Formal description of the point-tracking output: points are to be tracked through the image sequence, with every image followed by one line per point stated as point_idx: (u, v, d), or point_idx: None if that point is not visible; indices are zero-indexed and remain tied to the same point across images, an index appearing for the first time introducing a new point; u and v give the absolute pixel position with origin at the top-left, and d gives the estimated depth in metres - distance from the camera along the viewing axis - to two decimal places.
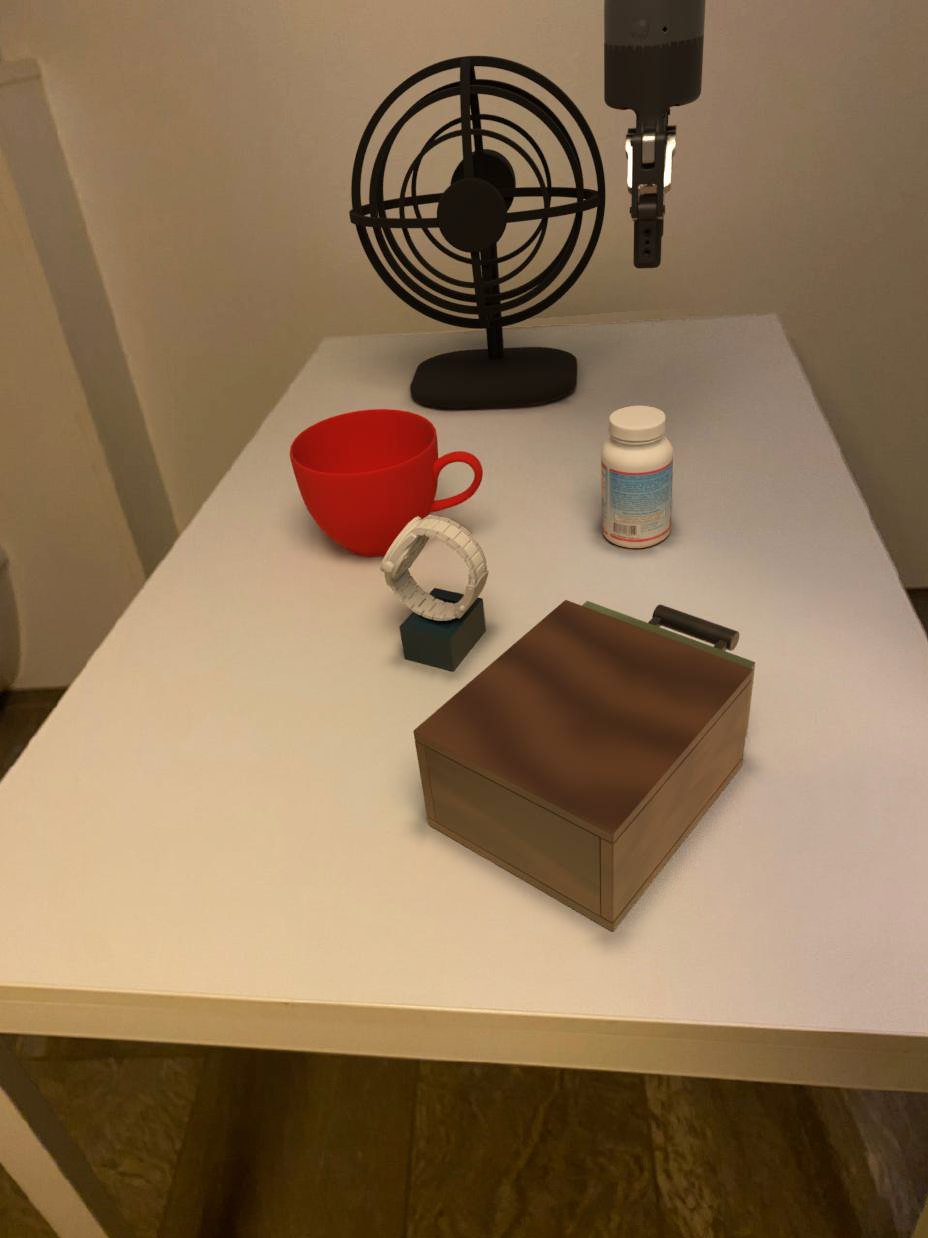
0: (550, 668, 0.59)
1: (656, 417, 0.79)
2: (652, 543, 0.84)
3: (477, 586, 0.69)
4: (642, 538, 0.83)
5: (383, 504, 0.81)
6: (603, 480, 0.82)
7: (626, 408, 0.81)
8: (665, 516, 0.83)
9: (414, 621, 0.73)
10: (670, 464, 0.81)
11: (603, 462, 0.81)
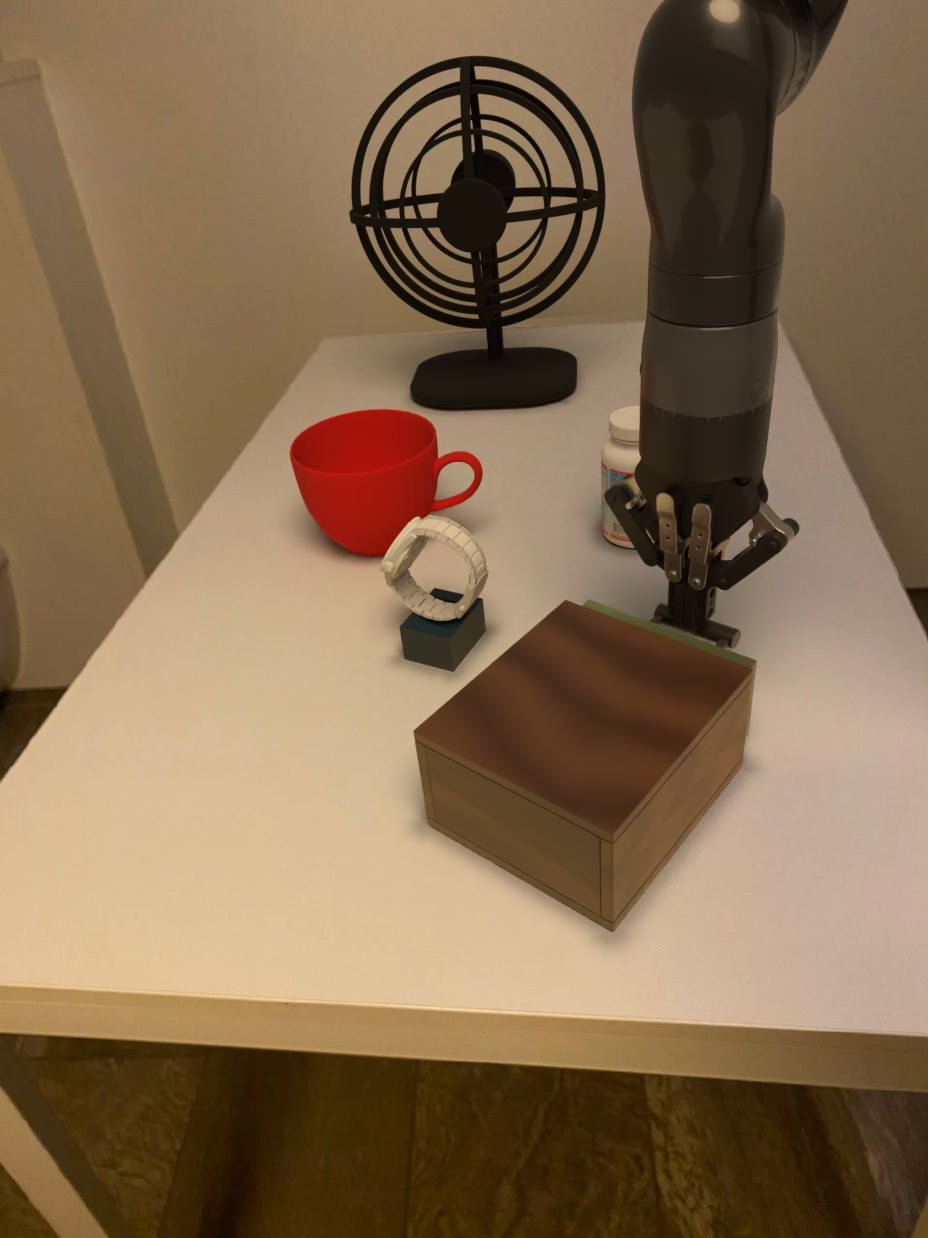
0: (550, 668, 0.59)
1: None
2: None
3: (477, 586, 0.69)
4: None
5: (383, 504, 0.81)
6: (603, 480, 0.82)
7: (626, 408, 0.81)
8: None
9: (414, 621, 0.73)
10: None
11: (603, 462, 0.81)
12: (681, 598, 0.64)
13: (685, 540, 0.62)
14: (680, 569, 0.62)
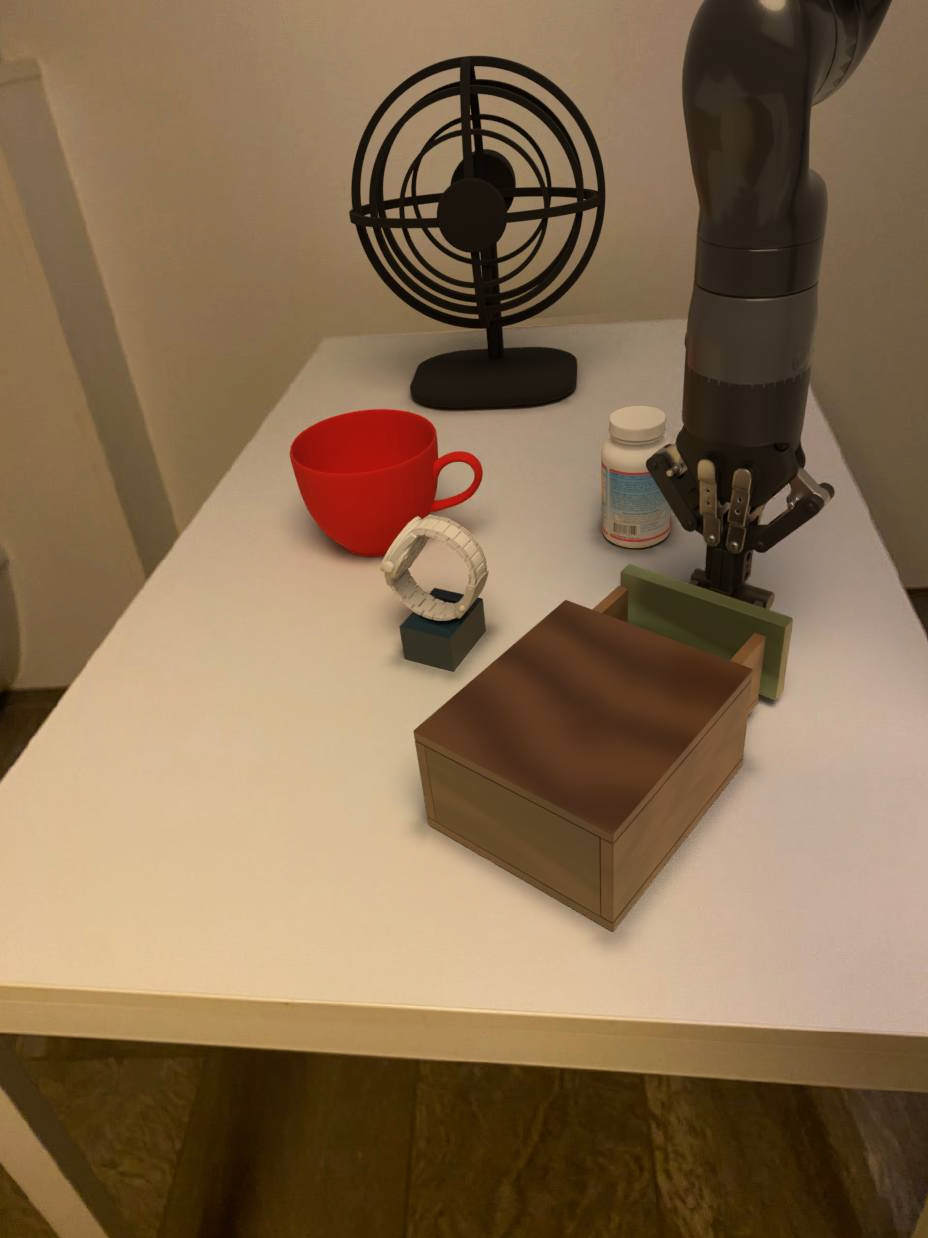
0: (550, 668, 0.59)
1: (656, 417, 0.79)
2: (652, 543, 0.84)
3: (477, 586, 0.69)
4: (642, 538, 0.83)
5: (383, 504, 0.81)
6: (603, 480, 0.82)
7: (626, 408, 0.81)
8: (665, 516, 0.83)
9: (414, 621, 0.73)
10: None
11: (603, 462, 0.81)
12: (719, 562, 0.67)
13: (724, 505, 0.65)
14: (719, 533, 0.65)
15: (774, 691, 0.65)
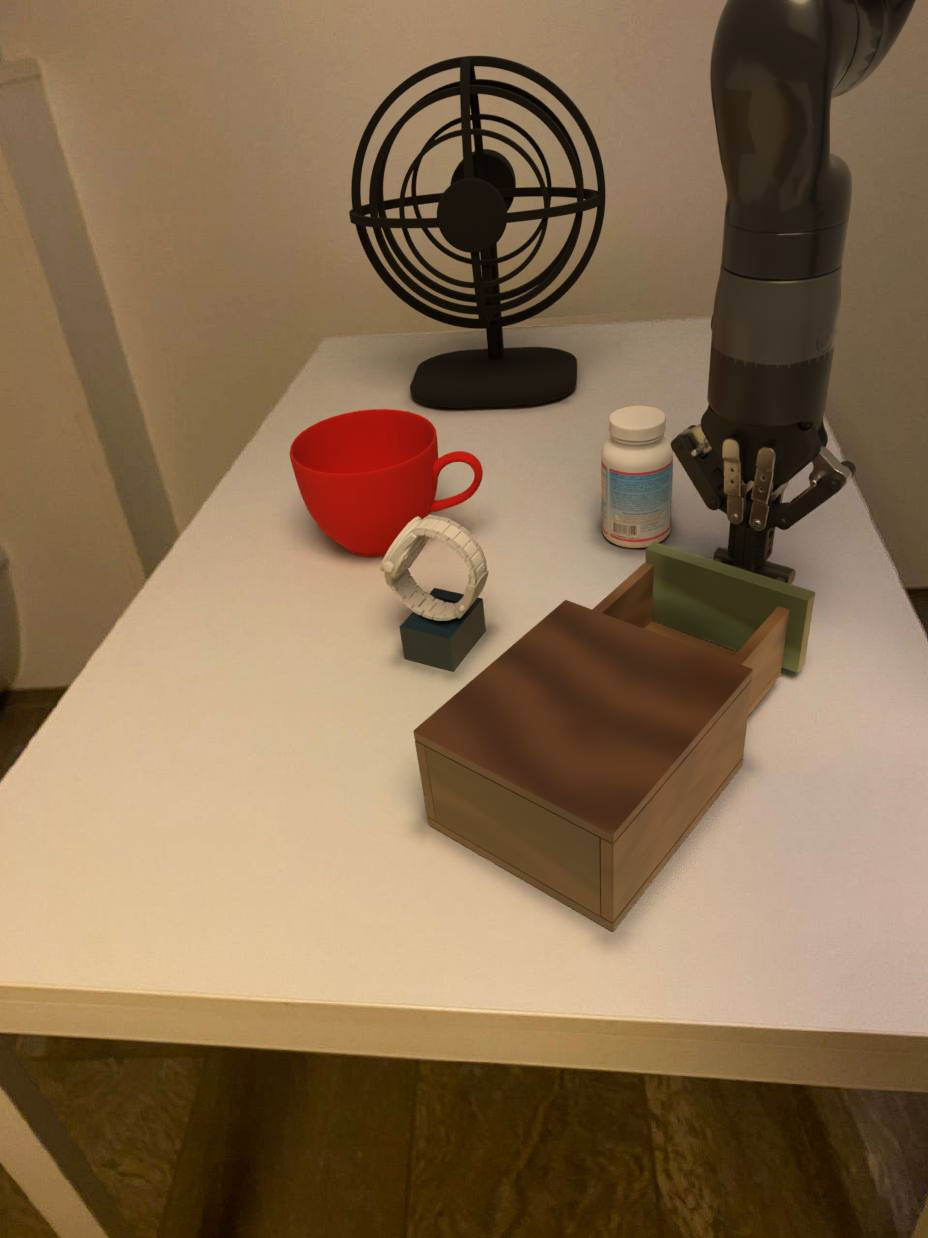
0: (550, 668, 0.59)
1: (656, 417, 0.79)
2: None
3: (477, 586, 0.69)
4: (642, 538, 0.83)
5: (383, 504, 0.81)
6: (603, 480, 0.82)
7: (626, 408, 0.81)
8: (665, 516, 0.83)
9: (414, 621, 0.73)
10: (670, 464, 0.81)
11: (603, 462, 0.81)
12: (742, 539, 0.69)
13: (747, 484, 0.67)
14: (742, 511, 0.68)
15: (796, 664, 0.67)
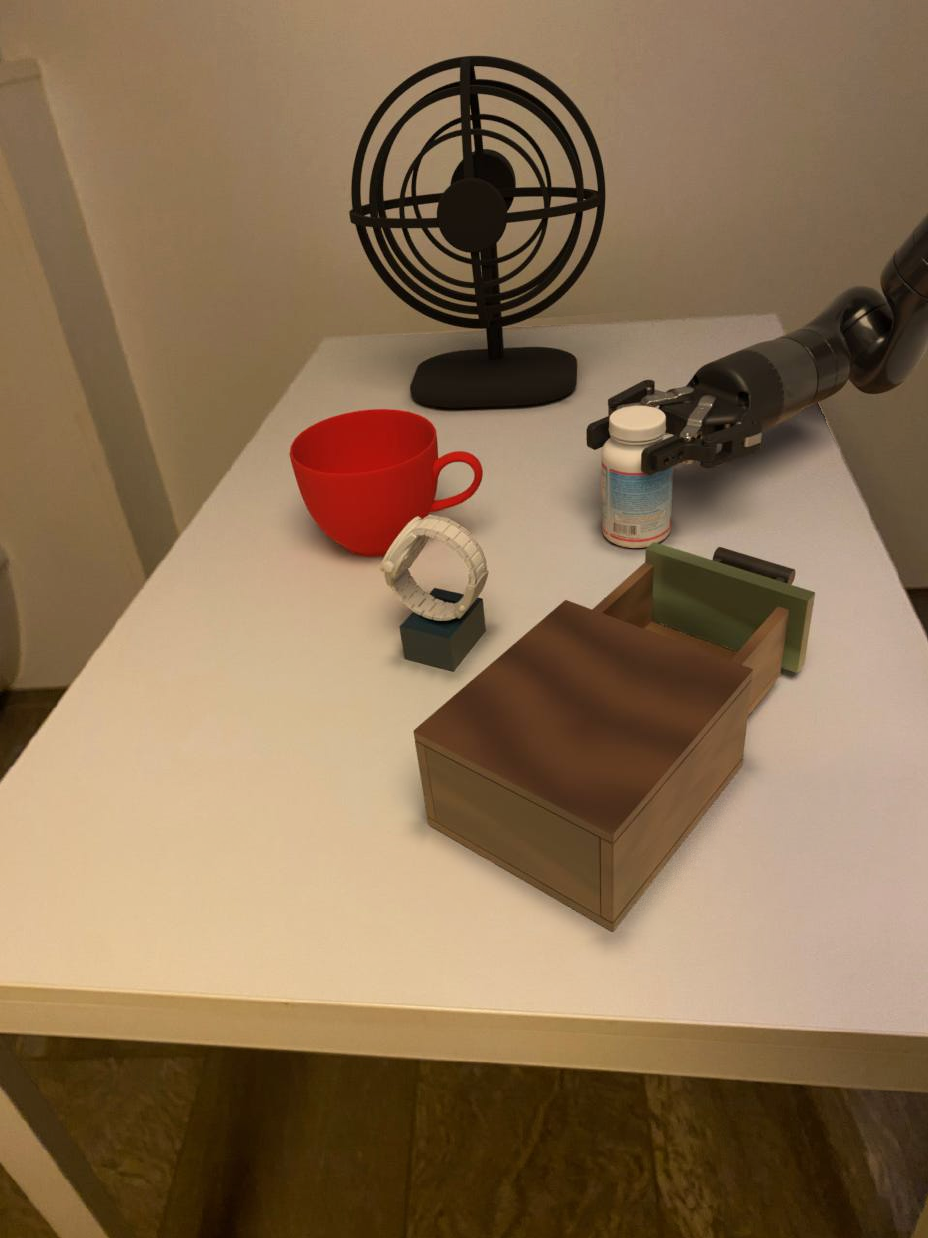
0: (550, 668, 0.59)
1: (656, 417, 0.79)
2: None
3: (477, 586, 0.69)
4: (642, 538, 0.83)
5: (383, 504, 0.81)
6: (603, 480, 0.82)
7: (626, 408, 0.81)
8: (665, 517, 0.83)
9: (414, 621, 0.73)
10: None
11: (603, 462, 0.81)
12: None
13: None
14: None
15: (796, 664, 0.67)
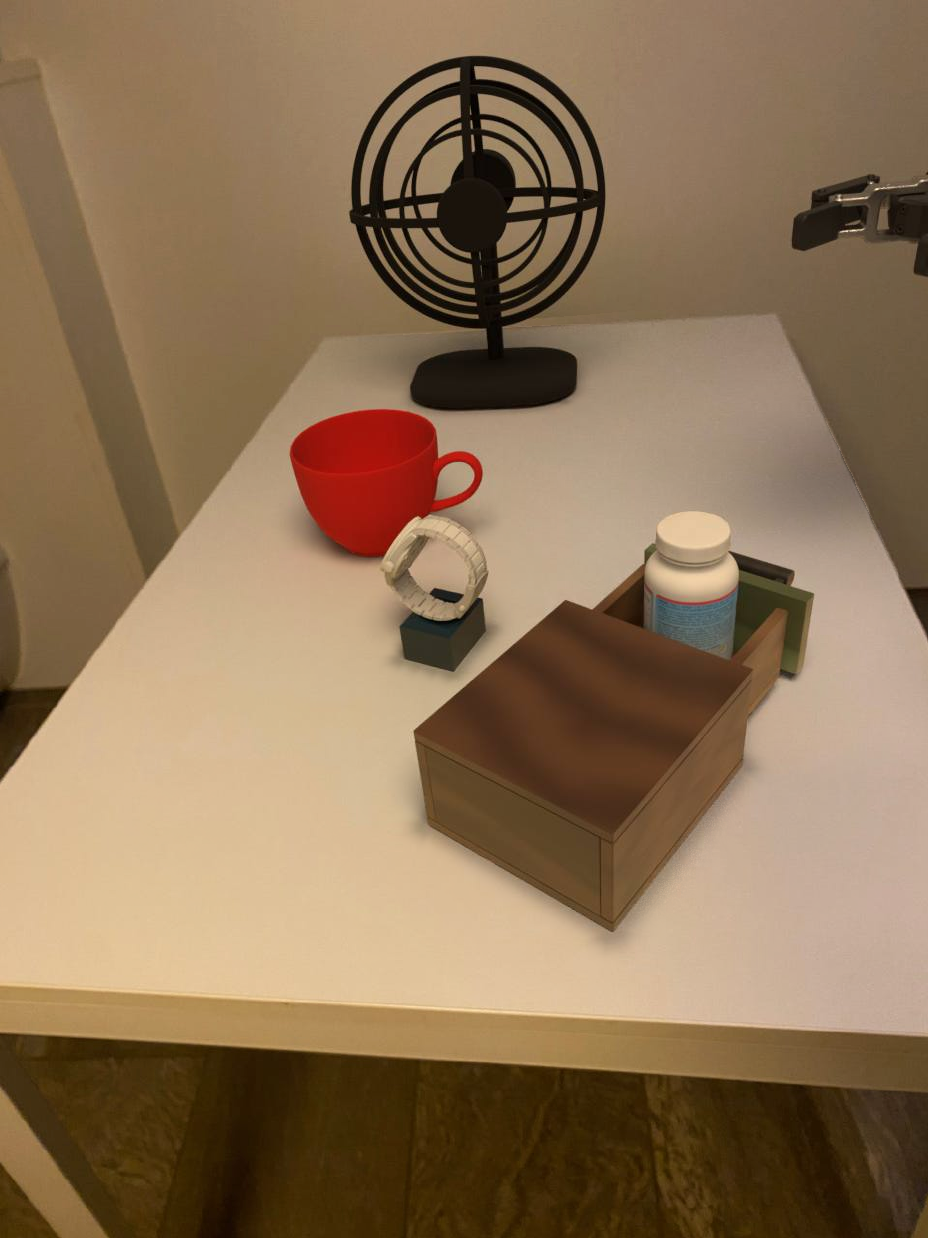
0: (550, 668, 0.59)
1: (719, 531, 0.61)
2: None
3: (477, 586, 0.69)
4: None
5: (383, 504, 0.81)
6: (647, 606, 0.64)
7: (678, 515, 0.63)
8: (726, 652, 0.64)
9: (414, 621, 0.73)
10: (735, 589, 0.62)
11: (648, 585, 0.63)
12: (829, 206, 0.61)
13: (878, 207, 0.61)
14: (849, 198, 0.61)
15: (795, 665, 0.67)
